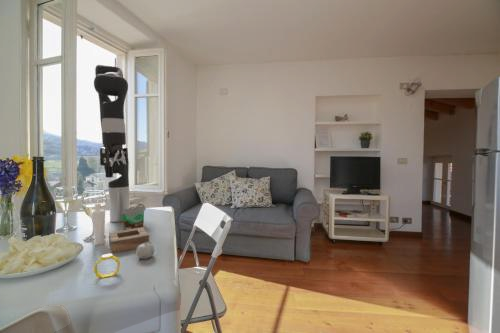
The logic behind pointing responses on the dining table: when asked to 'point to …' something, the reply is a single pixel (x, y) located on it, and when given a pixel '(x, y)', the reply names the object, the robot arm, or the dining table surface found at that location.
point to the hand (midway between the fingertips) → (116, 176)
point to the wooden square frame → (127, 239)
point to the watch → (105, 257)
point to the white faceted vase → (98, 224)
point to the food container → (133, 217)
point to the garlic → (145, 250)
